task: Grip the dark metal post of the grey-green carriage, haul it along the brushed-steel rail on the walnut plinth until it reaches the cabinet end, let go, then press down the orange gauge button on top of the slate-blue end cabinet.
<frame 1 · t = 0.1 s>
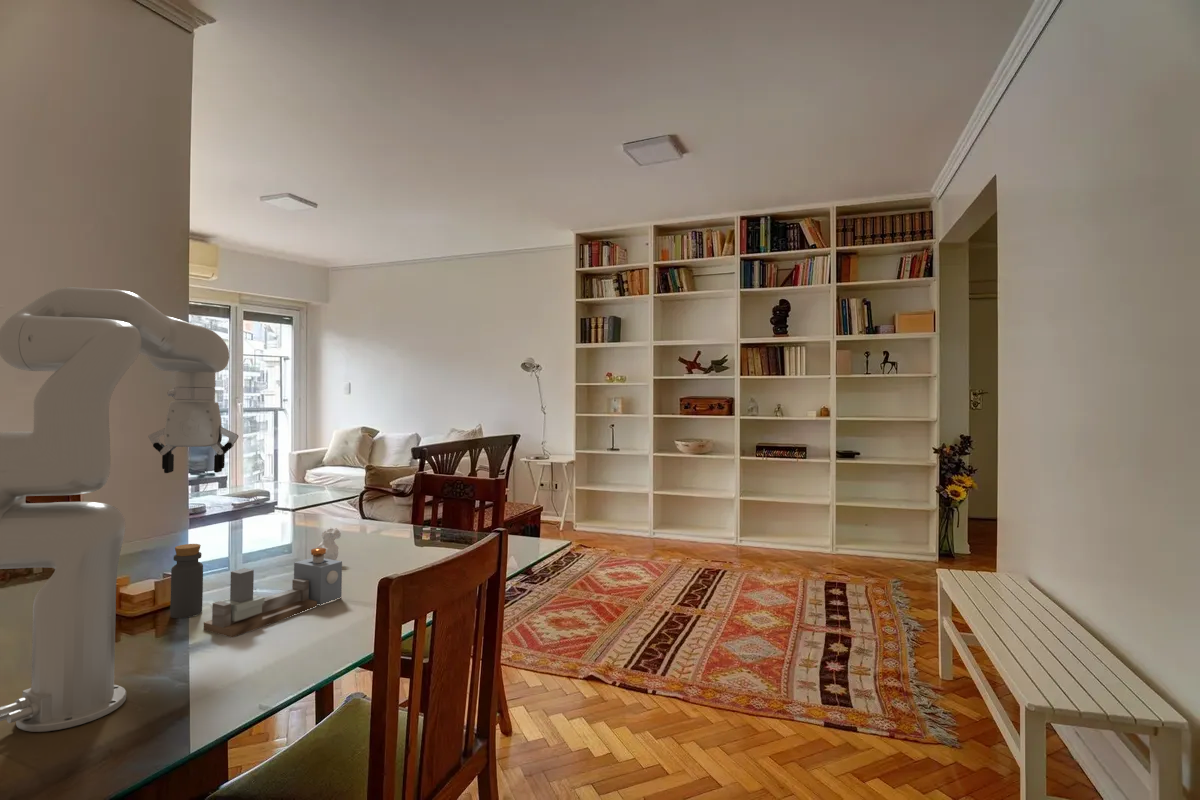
hand: (193, 472, 135), 31 cm above the table, tool pointing down, fingers open, 9 cm apart
duck figurine: (326, 563, 177), on the table
end cabinet: (317, 599, 144), on the table
carriage: (241, 592, 127), point 7 cm above the table, slide at 0.0 cm
gauge plunger: (318, 560, 144), point 9 cm above the table, slide at 0.0 cm
rail plinth: (263, 618, 132), on the table
bottle: (186, 614, 133), on the table
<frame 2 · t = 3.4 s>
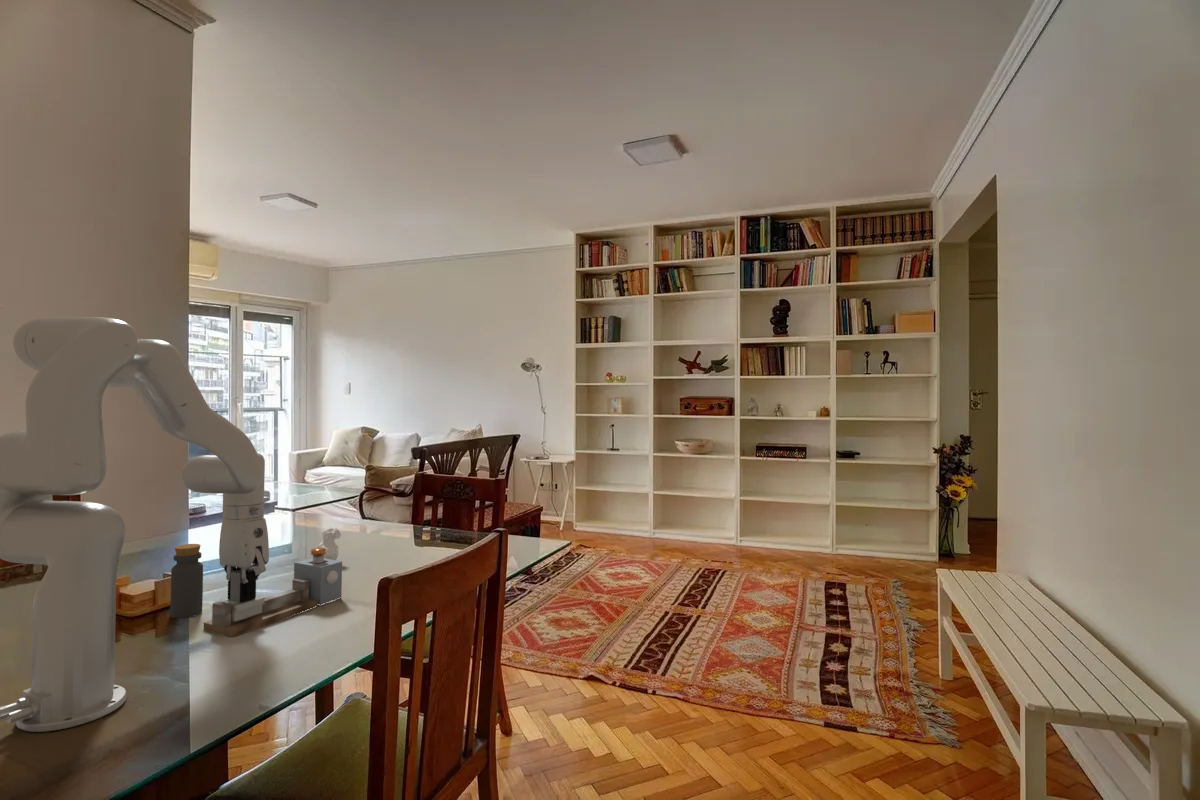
hand: (241, 598, 127), 6 cm above the table, tool pointing down, fingers closed on carriage, 3 cm apart
carriage: (241, 592, 127), point 7 cm above the table, slide at 0.0 cm, touching gripper
everything else where it was.
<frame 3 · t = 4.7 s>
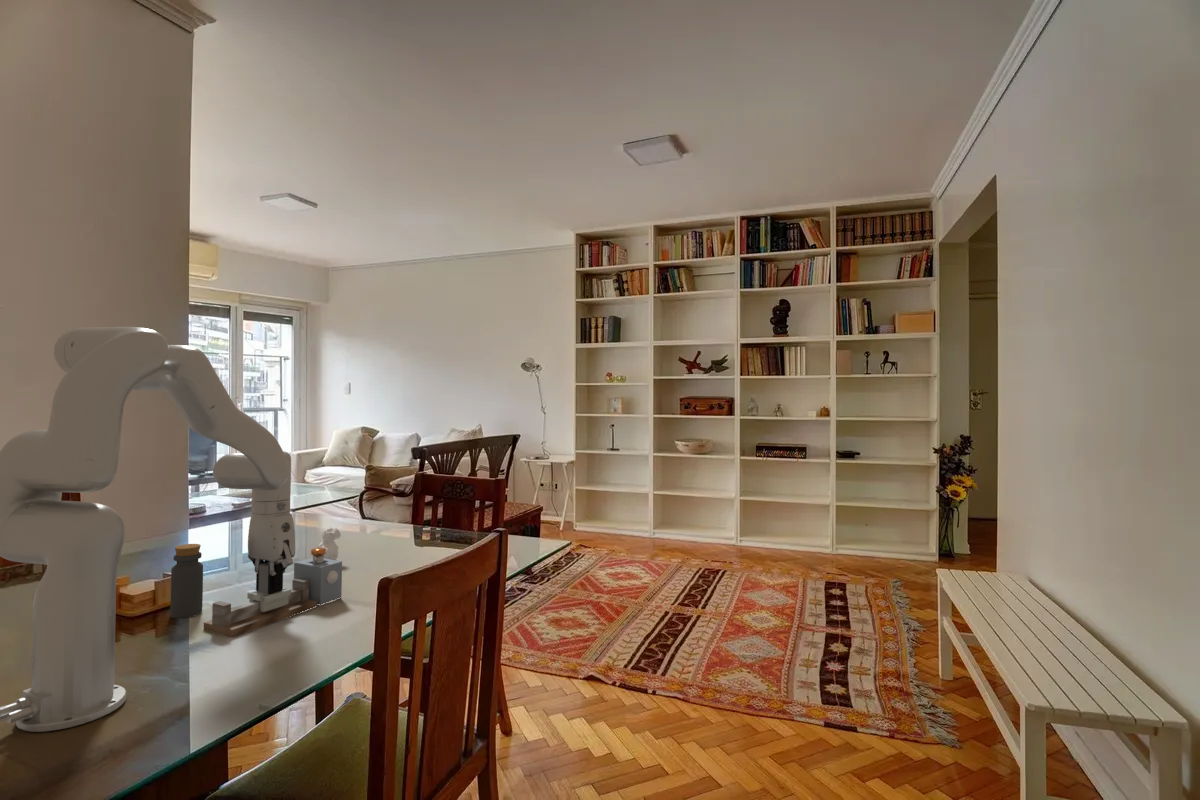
hand: (269, 590, 133), 6 cm above the table, tool pointing down, fingers closed on carriage, 3 cm apart
carriage: (269, 584, 133), point 7 cm above the table, slide at 6.4 cm, touching gripper
everything else where it was.
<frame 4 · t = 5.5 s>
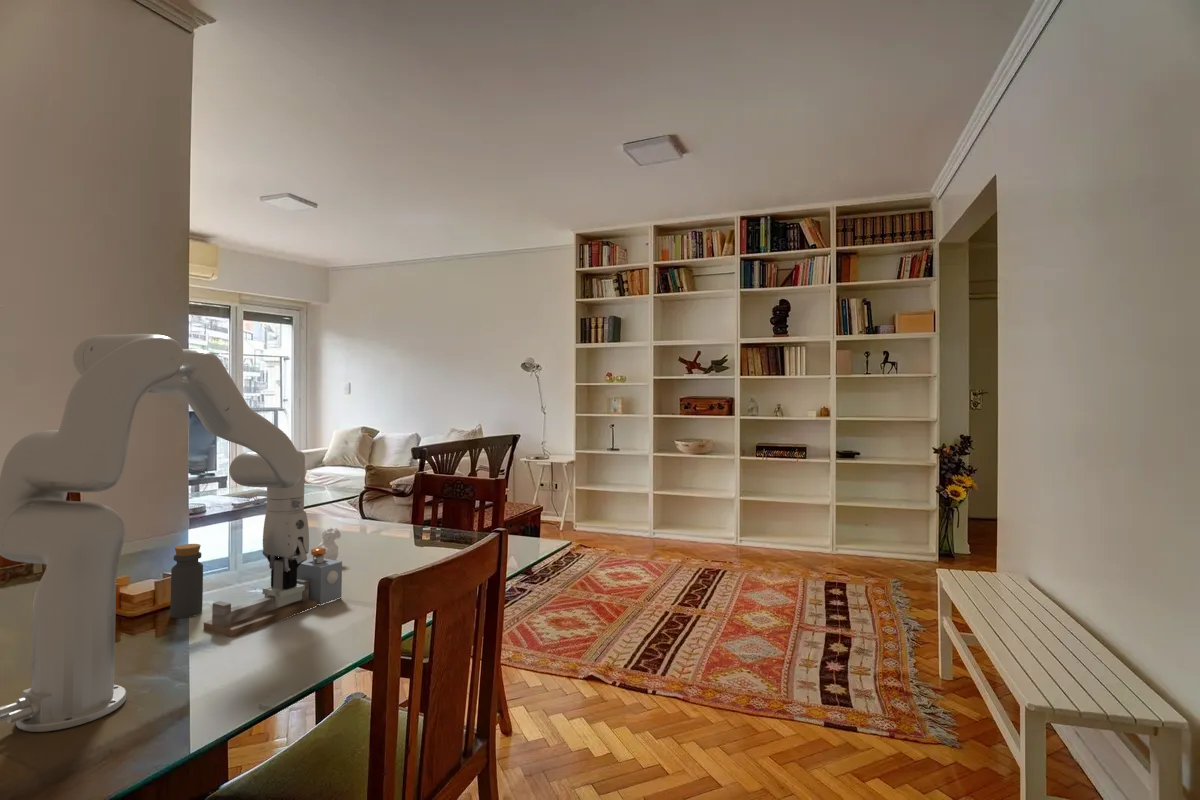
hand: (283, 585, 136), 6 cm above the table, tool pointing down, fingers closed on carriage, 3 cm apart
carriage: (283, 580, 136), point 7 cm above the table, slide at 9.9 cm, touching gripper
everything else where it was.
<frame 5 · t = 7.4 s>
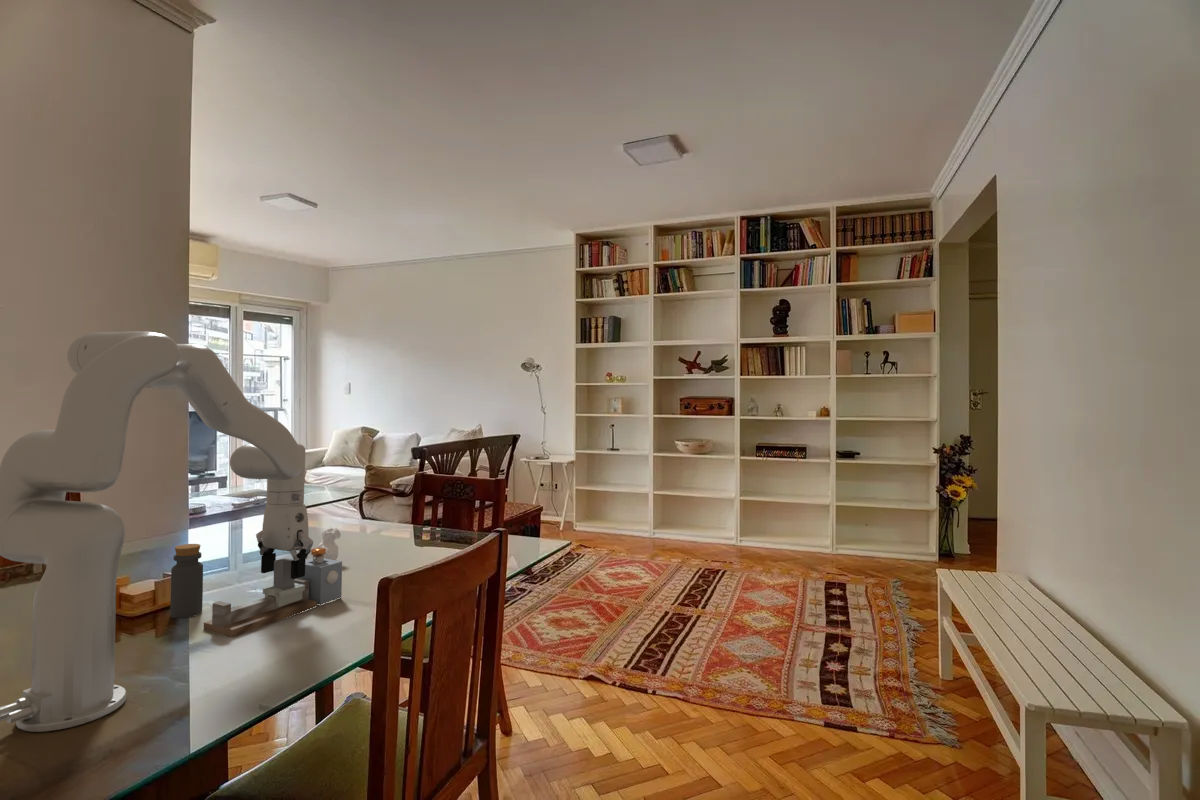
hand: (282, 574, 136), 8 cm above the table, tool pointing down, fingers open, 9 cm apart
carriage: (284, 580, 136), point 7 cm above the table, slide at 10.0 cm
everything else where it was.
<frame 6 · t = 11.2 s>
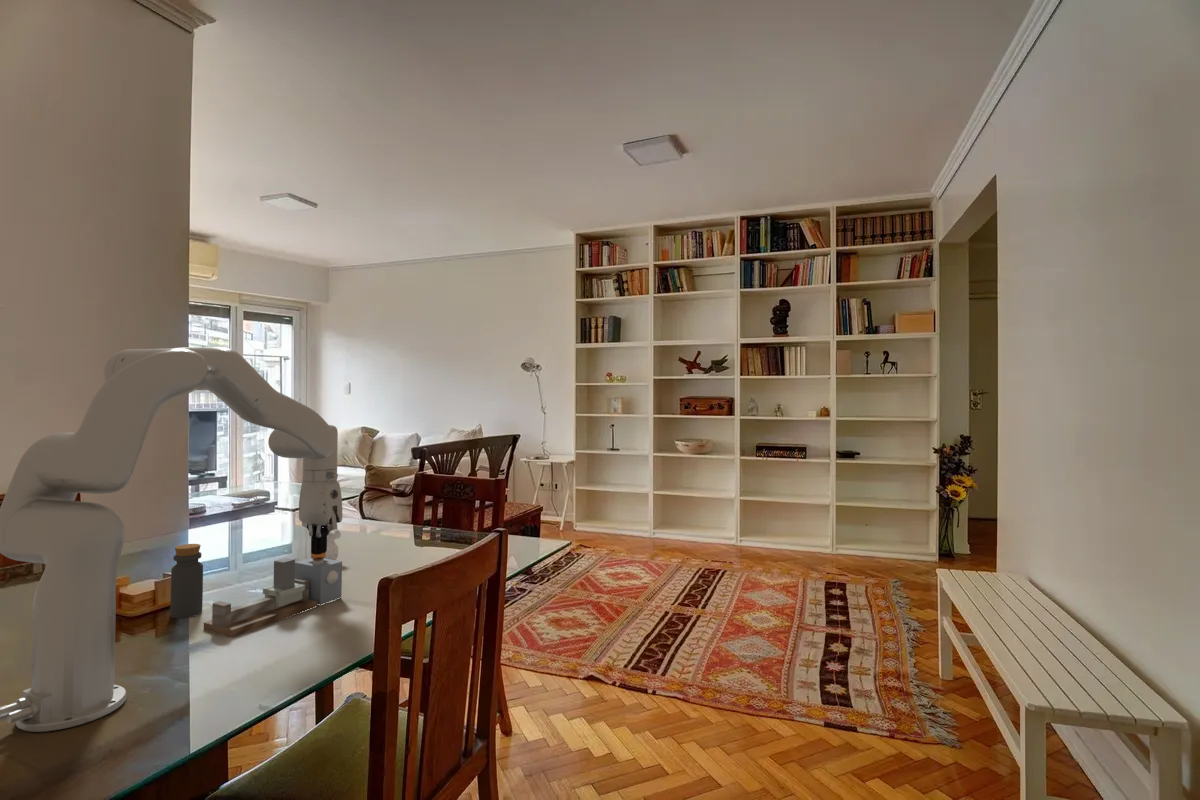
hand: (318, 552, 145), 11 cm above the table, tool pointing down, fingers closed
gauge plunger: (318, 564, 144), point 8 cm above the table, slide at 0.9 cm, touching gripper
everything else where it was.
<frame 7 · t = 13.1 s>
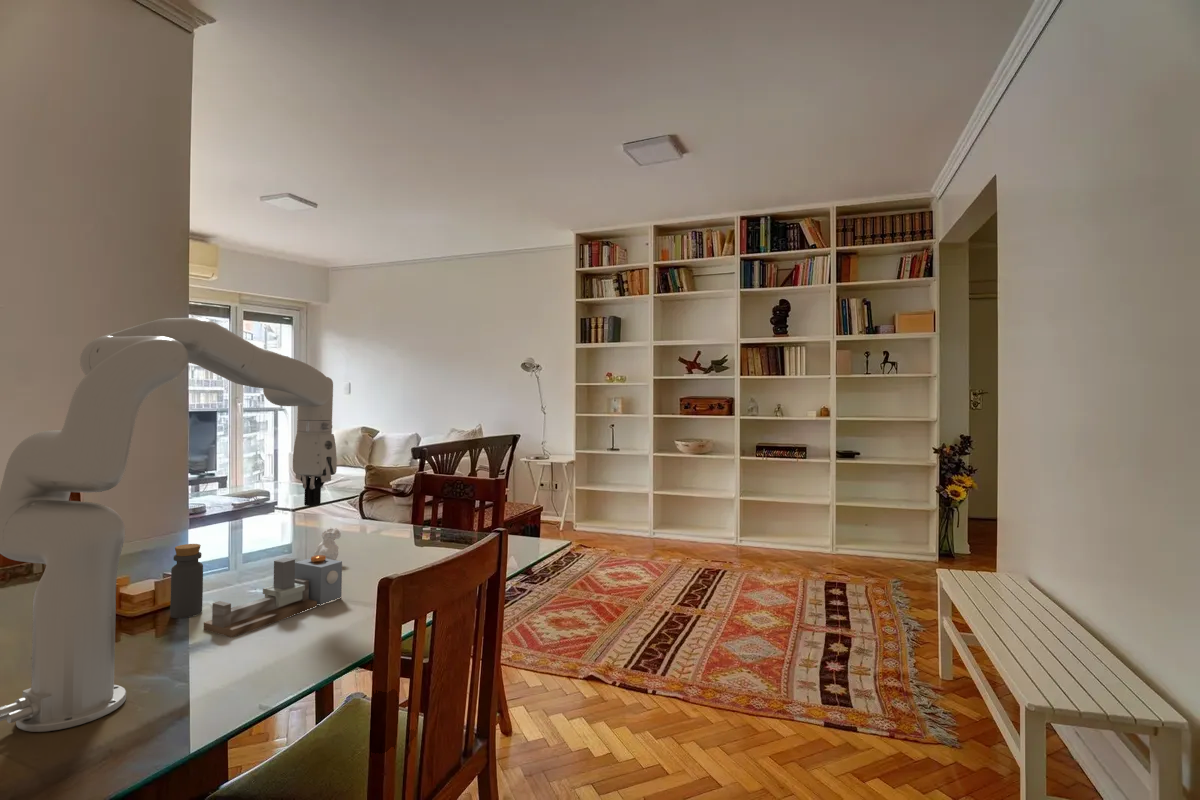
hand: (312, 505, 143), 23 cm above the table, tool pointing down, fingers closed
gauge plunger: (318, 568, 144), point 7 cm above the table, slide at 1.8 cm
everything else where it was.
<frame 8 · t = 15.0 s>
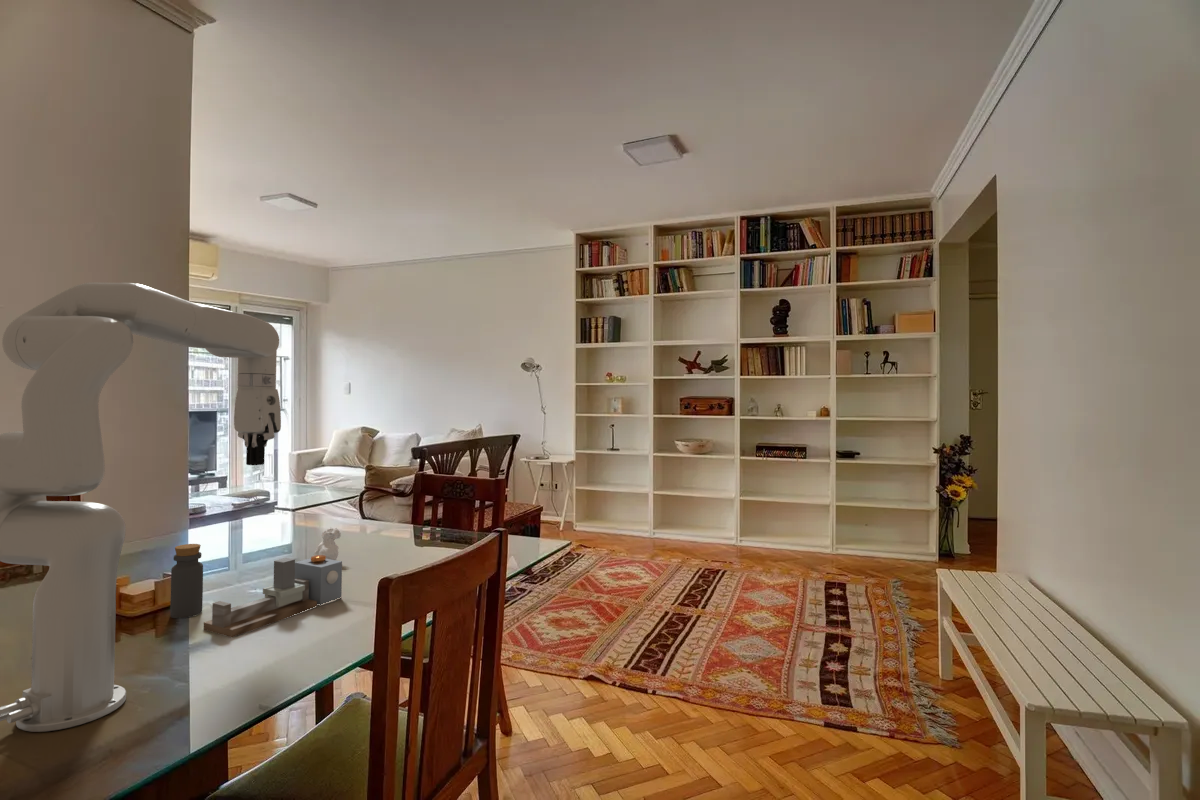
hand: (255, 464, 135), 33 cm above the table, tool pointing down, fingers closed
nothing on the table moved.
at the end: carriage slide at 10.0 cm; gauge plunger slide at 1.8 cm; the gripper is holding nothing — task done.
